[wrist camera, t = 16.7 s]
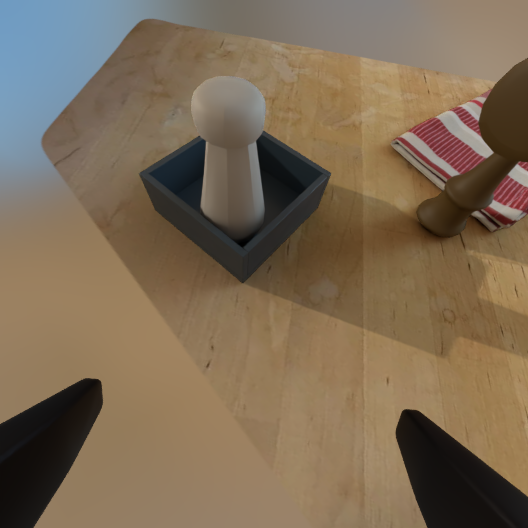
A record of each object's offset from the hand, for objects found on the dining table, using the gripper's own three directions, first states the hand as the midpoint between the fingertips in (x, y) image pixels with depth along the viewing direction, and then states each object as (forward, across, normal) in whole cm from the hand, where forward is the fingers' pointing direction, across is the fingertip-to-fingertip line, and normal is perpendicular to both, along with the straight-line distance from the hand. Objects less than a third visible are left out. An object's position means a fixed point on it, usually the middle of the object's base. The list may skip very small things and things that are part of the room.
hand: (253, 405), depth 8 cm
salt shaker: (+20, +3, -2) cm, 20 cm away
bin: (+22, +3, -3) cm, 23 cm away
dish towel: (+32, -29, -13) cm, 45 cm away
